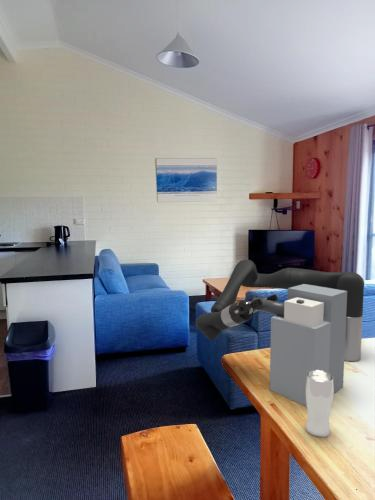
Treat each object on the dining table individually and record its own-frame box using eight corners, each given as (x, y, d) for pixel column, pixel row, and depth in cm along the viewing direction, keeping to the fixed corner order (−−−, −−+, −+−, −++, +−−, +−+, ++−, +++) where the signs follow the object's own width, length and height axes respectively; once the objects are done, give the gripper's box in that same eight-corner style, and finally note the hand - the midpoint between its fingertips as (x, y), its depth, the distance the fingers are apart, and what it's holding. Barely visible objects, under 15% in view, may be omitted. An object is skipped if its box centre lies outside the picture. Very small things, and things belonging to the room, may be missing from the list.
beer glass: (334, 440, 89) (336, 383, 87) (305, 436, 90) (307, 380, 88) (329, 423, 95) (331, 370, 94) (302, 420, 97) (303, 368, 95)
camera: (261, 306, 123) (261, 287, 122) (323, 322, 106) (324, 300, 105) (248, 310, 119) (248, 290, 118) (310, 327, 101) (311, 304, 101)
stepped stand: (301, 371, 126) (304, 283, 123) (343, 387, 115) (347, 291, 111) (269, 389, 114) (271, 292, 110) (312, 409, 102) (316, 301, 99)
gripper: (252, 319, 131) (286, 305, 120) (226, 328, 122) (259, 314, 110) (245, 300, 133) (277, 285, 122) (218, 307, 124) (250, 291, 112)
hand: (268, 299), depth 116 cm, fingers open, 8 cm apart
